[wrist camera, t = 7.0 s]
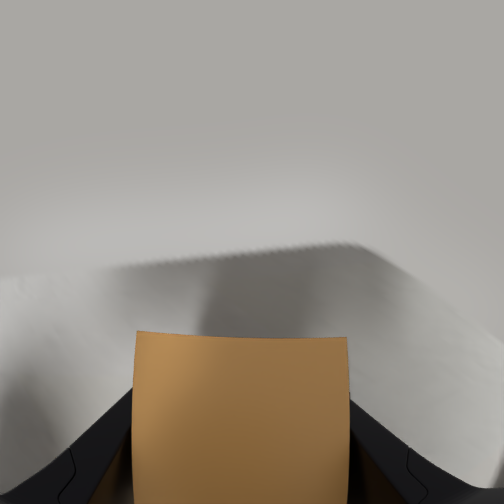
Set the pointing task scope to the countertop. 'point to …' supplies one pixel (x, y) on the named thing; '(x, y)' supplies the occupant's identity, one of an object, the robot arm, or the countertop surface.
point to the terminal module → (240, 420)
